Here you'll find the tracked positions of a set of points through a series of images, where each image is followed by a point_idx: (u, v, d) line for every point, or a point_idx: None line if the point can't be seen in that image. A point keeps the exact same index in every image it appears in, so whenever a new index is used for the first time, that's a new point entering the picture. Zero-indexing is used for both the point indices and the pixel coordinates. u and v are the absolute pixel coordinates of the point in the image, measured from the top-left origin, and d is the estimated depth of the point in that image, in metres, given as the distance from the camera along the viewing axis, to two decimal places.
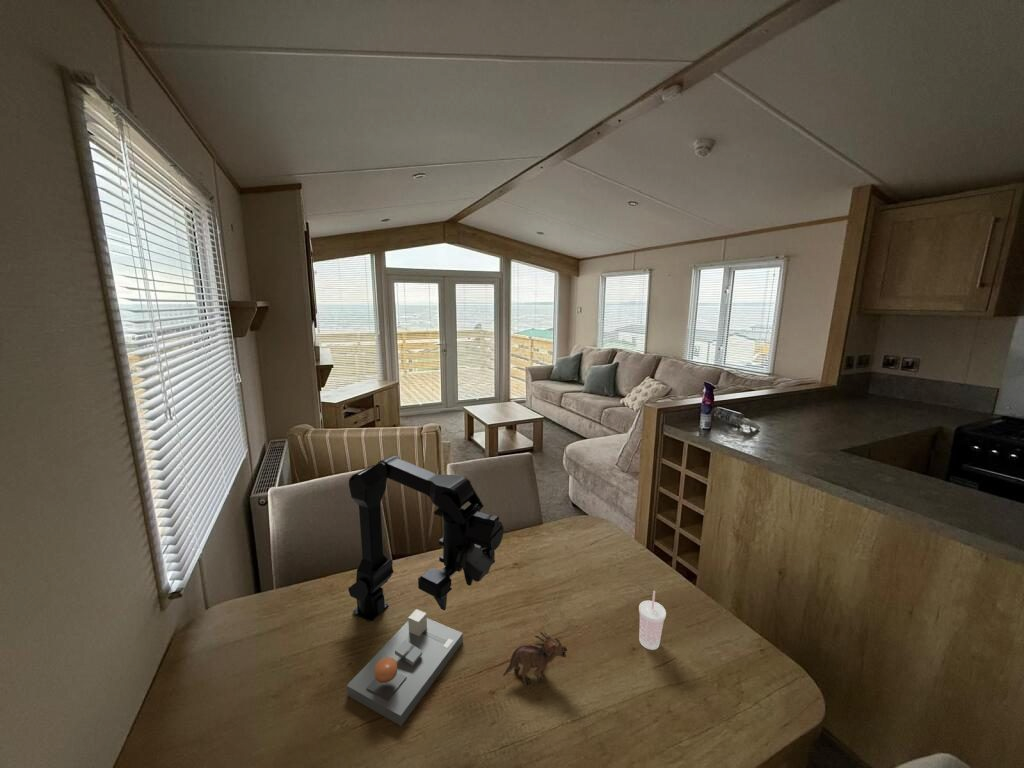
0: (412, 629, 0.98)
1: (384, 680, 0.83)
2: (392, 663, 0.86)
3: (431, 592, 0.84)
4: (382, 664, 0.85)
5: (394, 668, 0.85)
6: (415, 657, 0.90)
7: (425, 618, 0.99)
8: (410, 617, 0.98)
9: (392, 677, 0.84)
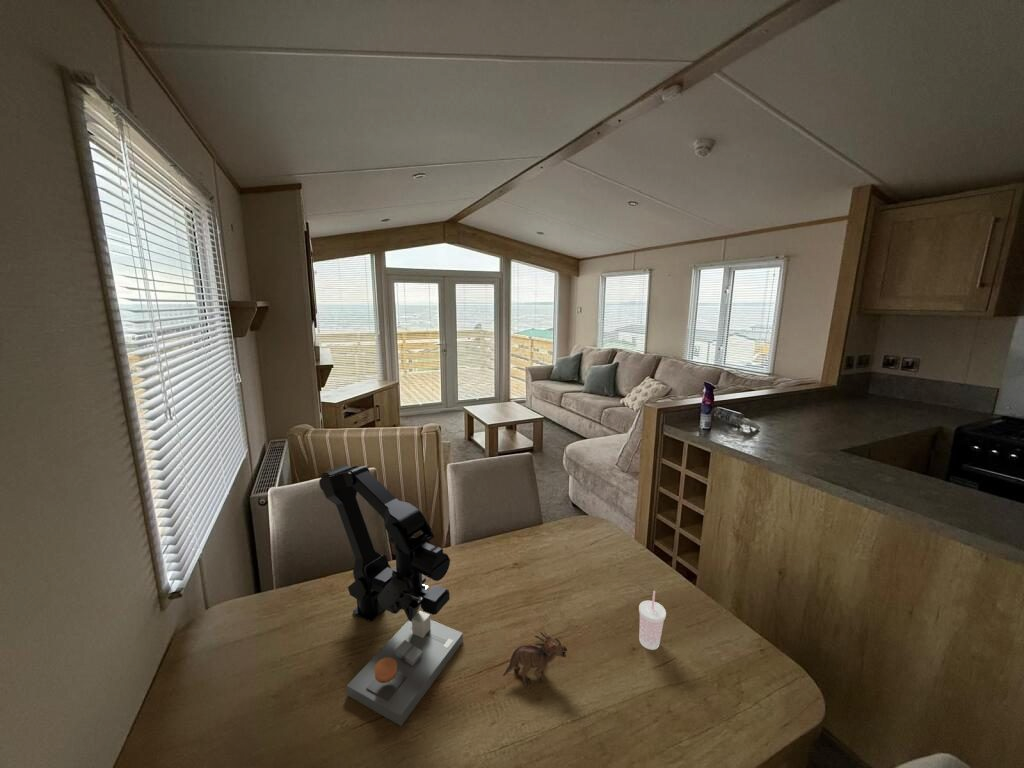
0: (416, 630, 0.97)
1: (384, 680, 0.83)
2: (392, 663, 0.86)
3: None
4: (382, 664, 0.85)
5: (394, 668, 0.85)
6: (415, 657, 0.90)
7: (429, 620, 0.99)
8: (414, 619, 0.97)
9: (392, 677, 0.84)
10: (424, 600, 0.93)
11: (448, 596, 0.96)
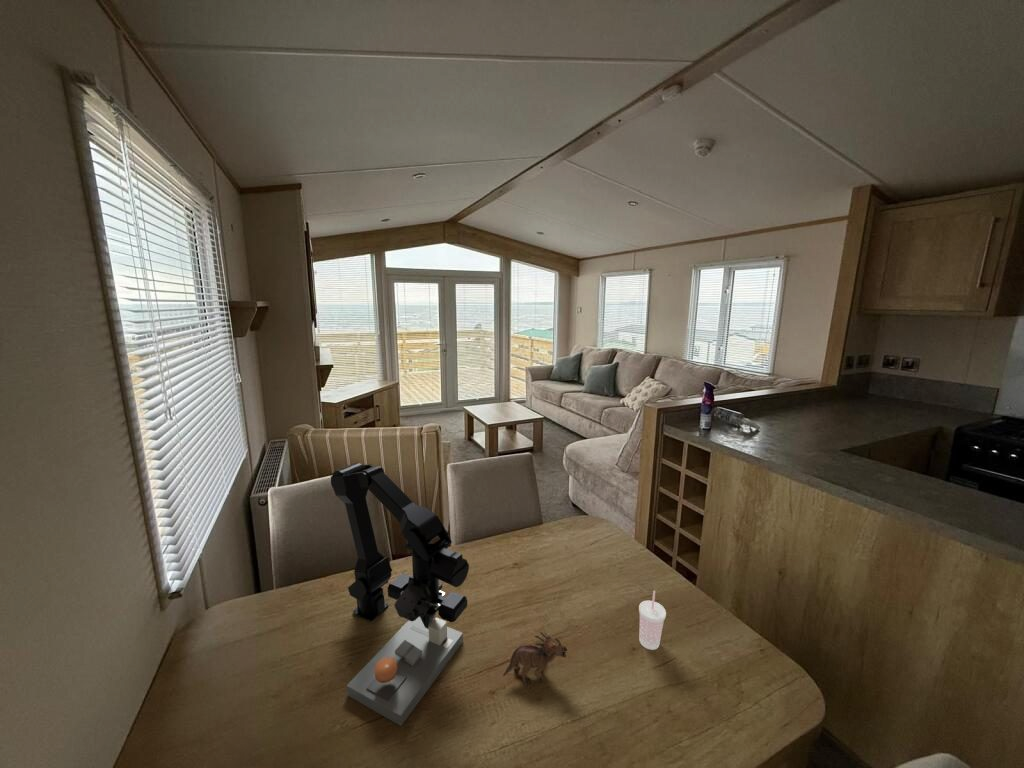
0: (433, 638, 0.95)
1: (384, 680, 0.83)
2: (392, 663, 0.86)
3: None
4: (382, 664, 0.85)
5: (394, 668, 0.85)
6: (415, 657, 0.90)
7: (445, 627, 0.97)
8: (430, 626, 0.95)
9: (392, 677, 0.84)
10: (442, 607, 0.91)
11: (466, 603, 0.94)
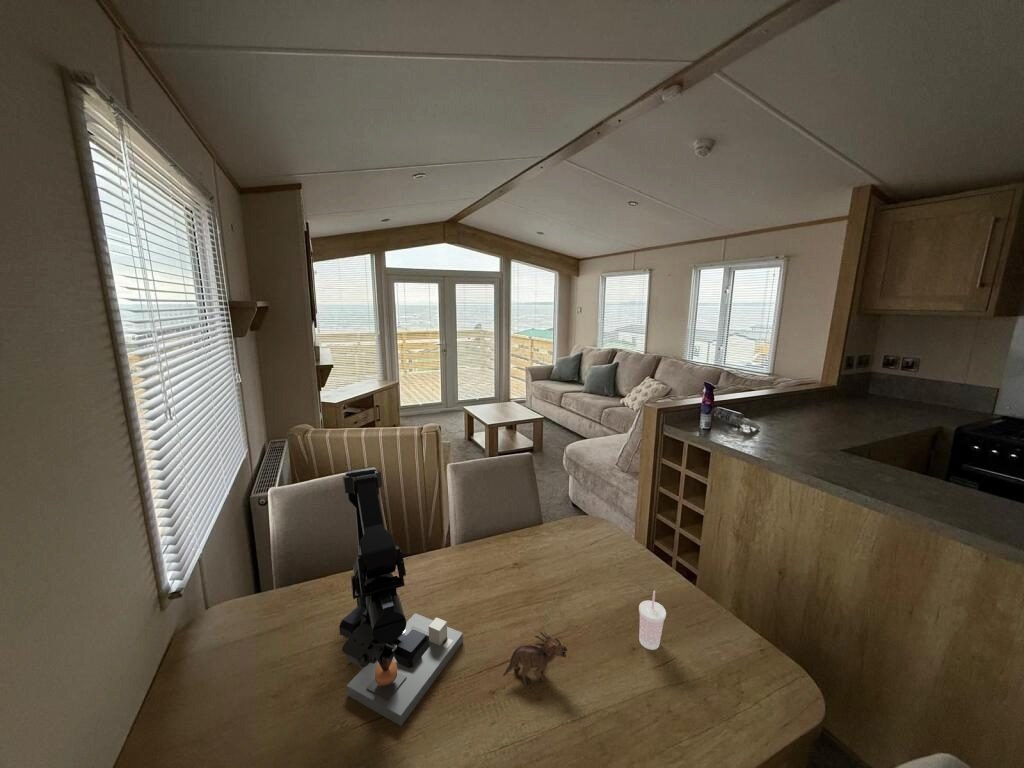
0: (433, 638, 0.95)
1: (384, 683, 0.83)
2: (392, 666, 0.86)
3: None
4: None
5: (394, 671, 0.85)
6: None
7: (445, 627, 0.97)
8: (430, 626, 0.95)
9: (392, 680, 0.84)
10: (398, 650, 0.78)
11: (428, 643, 0.81)
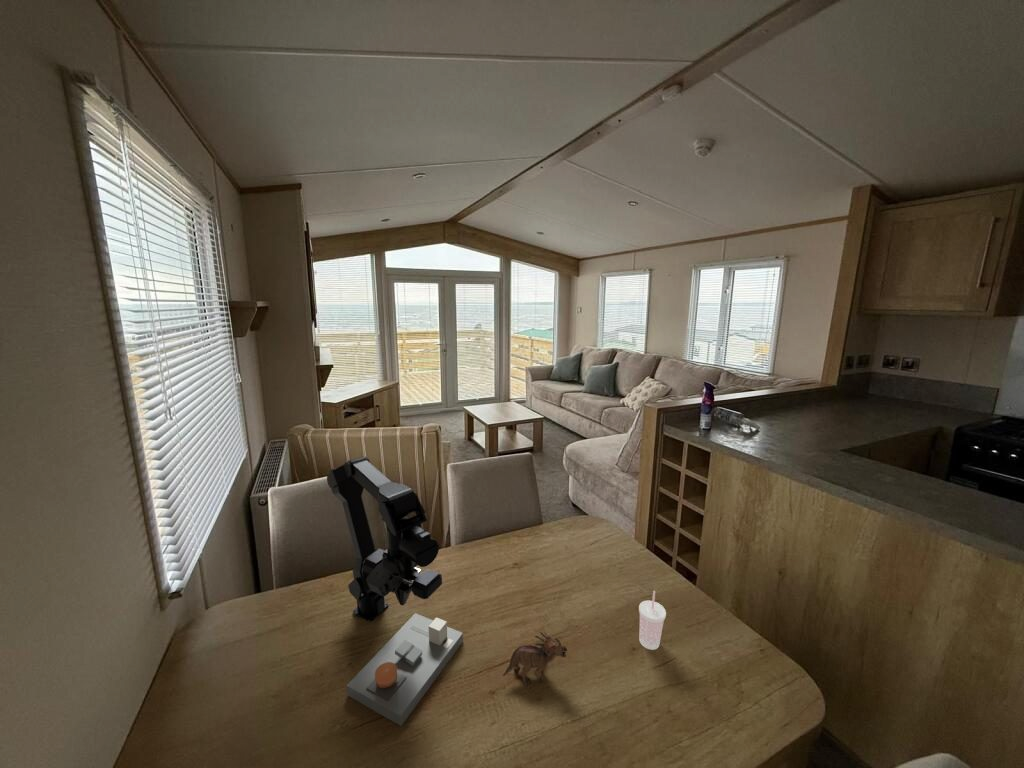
0: (433, 638, 0.95)
1: (384, 685, 0.83)
2: (392, 668, 0.86)
3: None
4: (382, 669, 0.86)
5: (394, 673, 0.85)
6: (415, 657, 0.90)
7: (445, 627, 0.97)
8: (430, 626, 0.95)
9: (392, 682, 0.84)
10: (415, 584, 0.88)
11: (440, 581, 0.91)
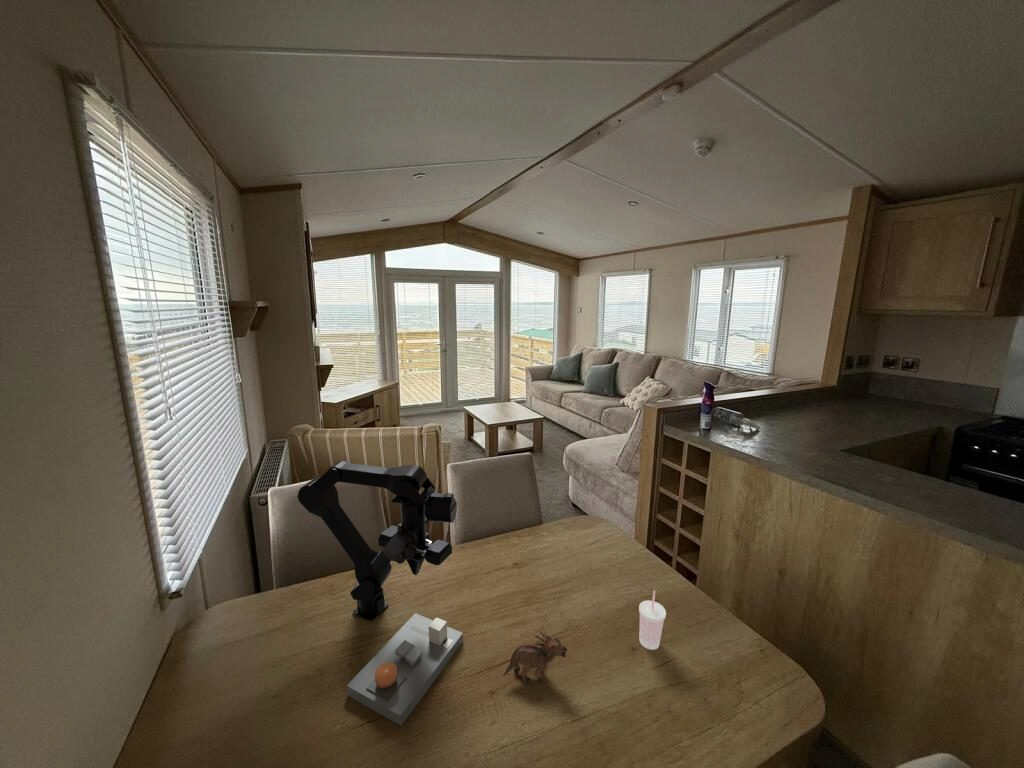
0: (433, 638, 0.95)
1: (384, 685, 0.83)
2: (392, 668, 0.86)
3: None
4: (382, 669, 0.86)
5: (394, 673, 0.85)
6: (415, 657, 0.90)
7: (445, 627, 0.97)
8: (430, 626, 0.95)
9: (392, 682, 0.84)
10: (428, 552, 0.98)
11: (451, 549, 1.01)
